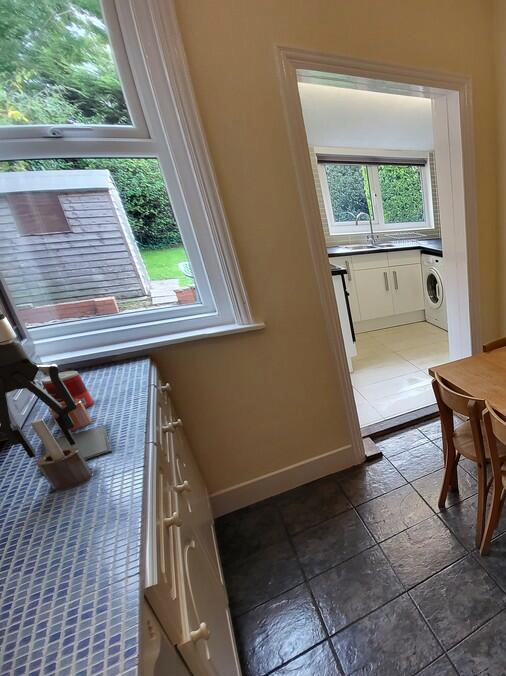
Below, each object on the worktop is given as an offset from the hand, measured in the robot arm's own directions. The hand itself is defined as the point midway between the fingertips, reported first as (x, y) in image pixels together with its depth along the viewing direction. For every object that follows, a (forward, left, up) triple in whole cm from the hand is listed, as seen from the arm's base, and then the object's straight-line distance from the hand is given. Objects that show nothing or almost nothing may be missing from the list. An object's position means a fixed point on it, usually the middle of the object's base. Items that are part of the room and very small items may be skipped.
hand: (53, 448), depth 86 cm
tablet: (-11, +15, -9) cm, 21 cm away
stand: (0, 0, -9) cm, 9 cm away
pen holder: (-22, +29, -9) cm, 37 cm away
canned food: (-32, +42, -9) cm, 54 cm away
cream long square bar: (0, 0, -8) cm, 8 cm away
